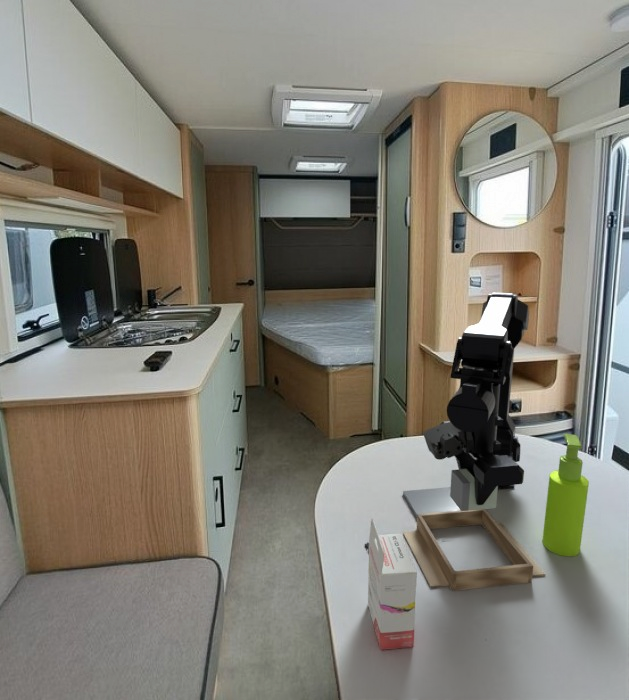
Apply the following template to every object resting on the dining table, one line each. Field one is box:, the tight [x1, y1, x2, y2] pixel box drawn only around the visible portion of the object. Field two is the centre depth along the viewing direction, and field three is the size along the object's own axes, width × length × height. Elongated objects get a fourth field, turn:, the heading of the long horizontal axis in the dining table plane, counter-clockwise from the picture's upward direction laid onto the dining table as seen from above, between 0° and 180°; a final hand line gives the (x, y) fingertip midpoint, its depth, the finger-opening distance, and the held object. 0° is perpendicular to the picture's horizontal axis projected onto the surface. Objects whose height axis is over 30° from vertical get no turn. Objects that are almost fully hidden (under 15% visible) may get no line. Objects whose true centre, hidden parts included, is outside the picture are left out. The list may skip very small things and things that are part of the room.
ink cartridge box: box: [367, 518, 418, 651], centre depth 64 cm, size 9×5×15 cm, turn 5°
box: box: [450, 468, 499, 511], centre depth 78 cm, size 6×4×5 cm
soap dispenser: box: [542, 433, 590, 557], centre depth 80 cm, size 6×7×20 cm
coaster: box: [402, 486, 460, 519], centre depth 95 cm, size 11×10×1 cm
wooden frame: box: [402, 509, 546, 592], centre depth 80 cm, size 19×16×3 cm
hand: (473, 496), depth 78 cm, fingers closed on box, 4 cm apart
